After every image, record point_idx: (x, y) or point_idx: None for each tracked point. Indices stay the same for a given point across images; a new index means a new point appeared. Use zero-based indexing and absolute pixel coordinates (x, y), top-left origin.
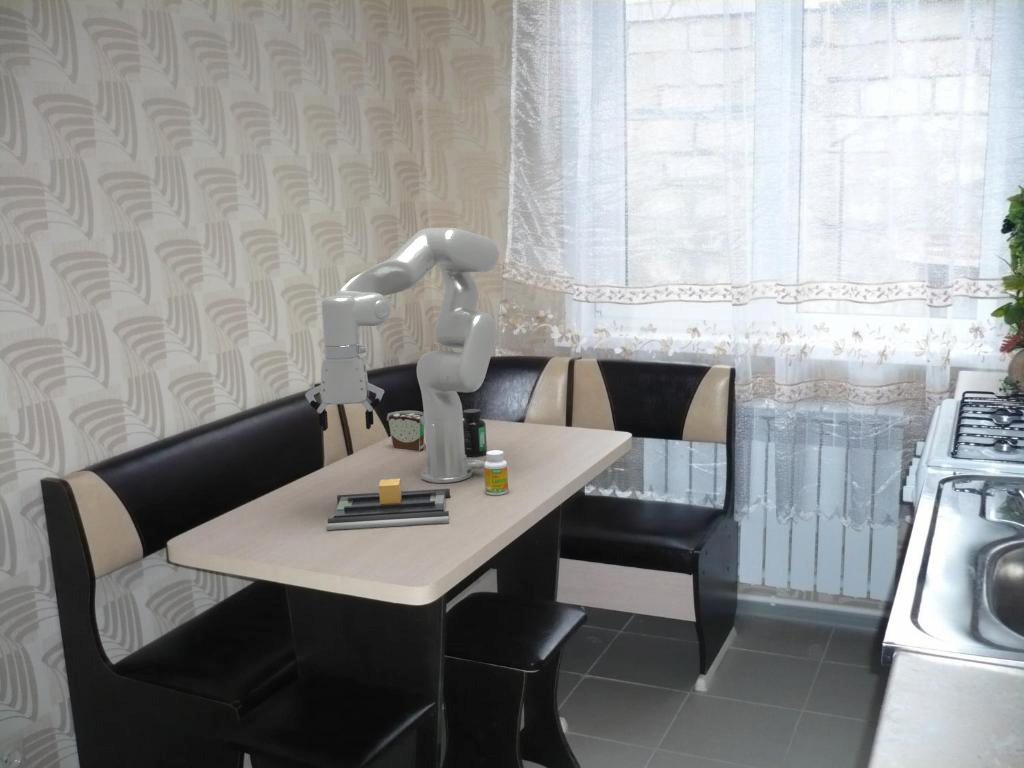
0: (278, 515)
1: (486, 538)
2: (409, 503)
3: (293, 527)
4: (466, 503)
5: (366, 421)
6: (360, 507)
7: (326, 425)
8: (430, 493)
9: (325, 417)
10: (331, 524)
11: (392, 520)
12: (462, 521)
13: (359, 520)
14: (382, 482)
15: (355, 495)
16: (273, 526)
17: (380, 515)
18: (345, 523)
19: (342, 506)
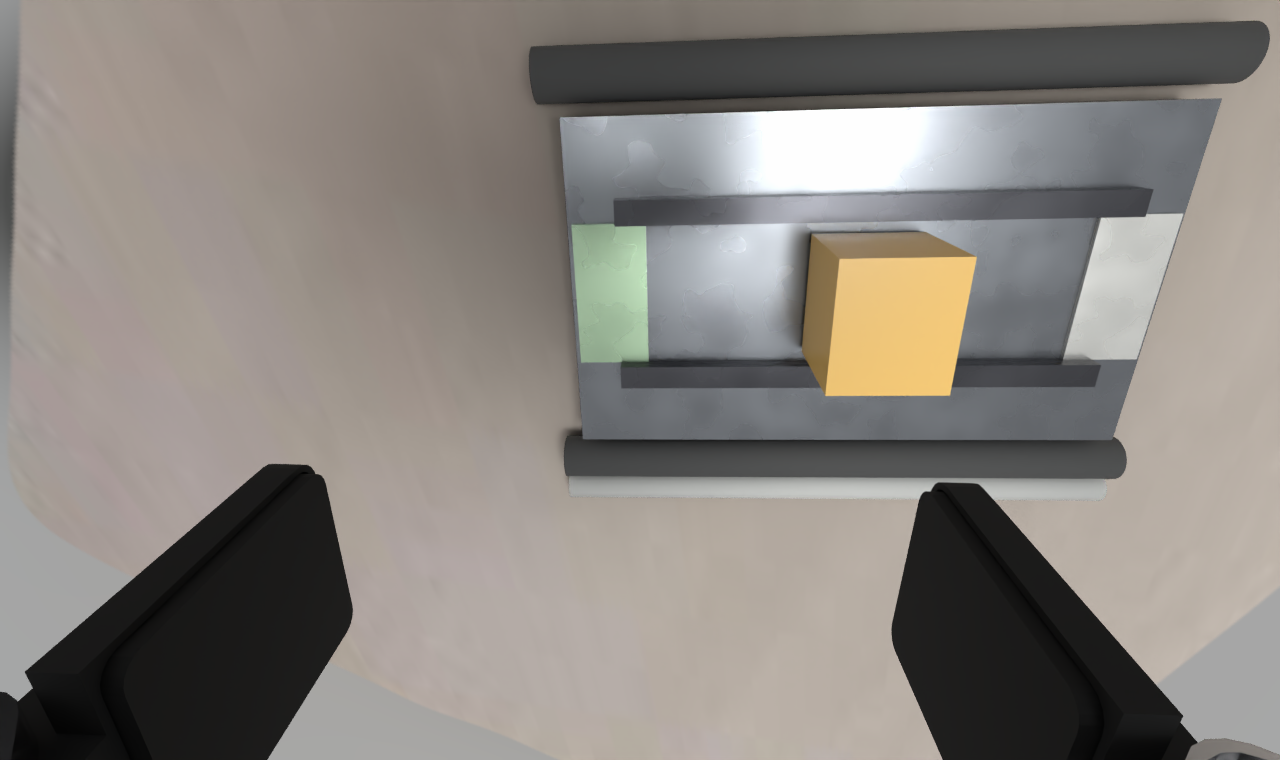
0: (276, 237)
1: (1177, 651)
2: (958, 383)
3: (416, 419)
4: (1268, 208)
5: (942, 730)
6: (703, 386)
7: (315, 605)
8: (1111, 217)
9: (239, 749)
10: (588, 496)
11: (850, 496)
12: (1150, 472)
13: (705, 476)
14: (850, 323)
15: (643, 86)
16: (322, 392)
17: (801, 470)
18: (647, 494)
19: (602, 320)
